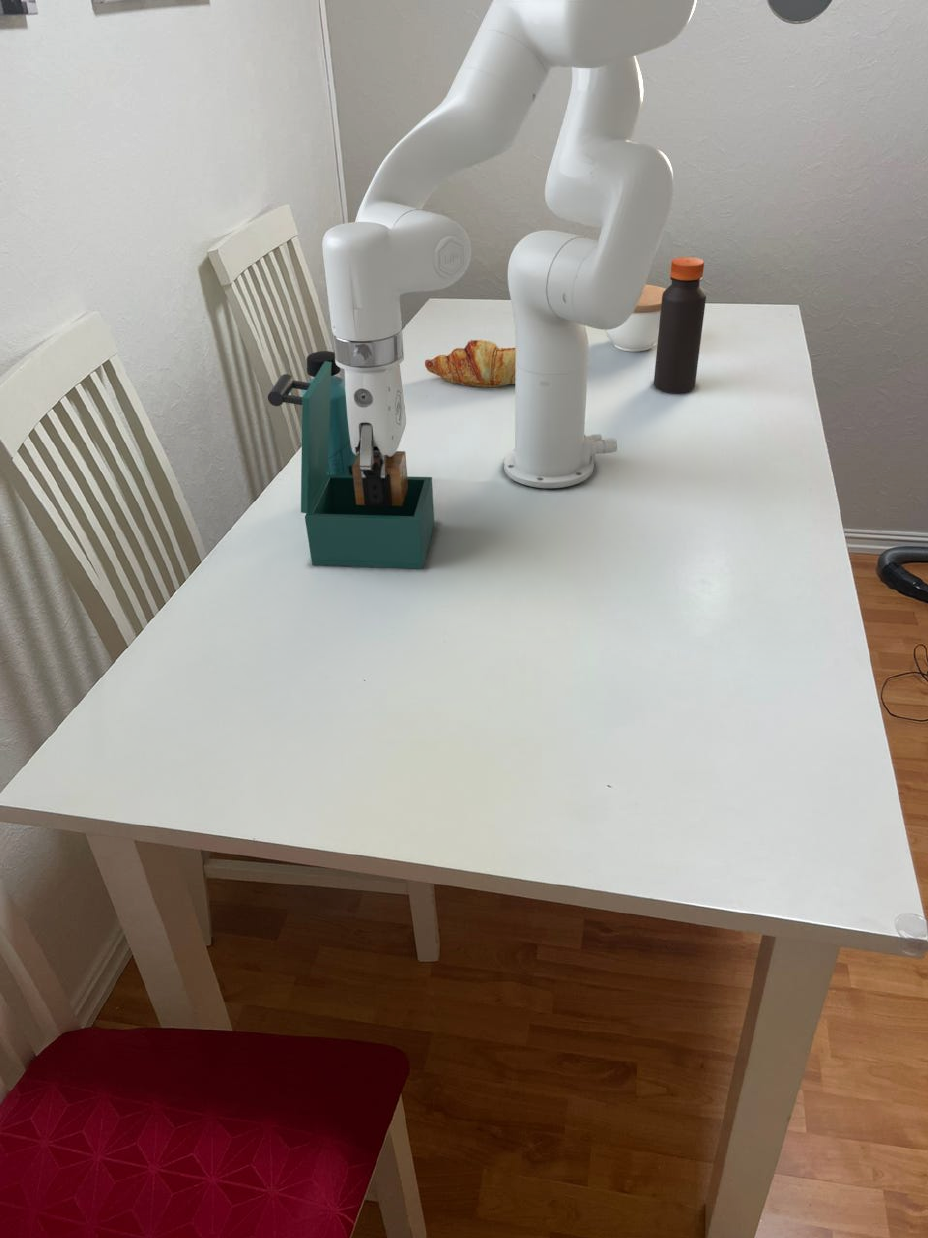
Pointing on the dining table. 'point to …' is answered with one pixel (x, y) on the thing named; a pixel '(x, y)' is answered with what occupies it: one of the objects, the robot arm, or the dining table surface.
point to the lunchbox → (369, 526)
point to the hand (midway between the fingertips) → (382, 493)
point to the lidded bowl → (640, 323)
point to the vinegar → (680, 327)
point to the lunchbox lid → (310, 427)
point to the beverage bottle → (335, 416)
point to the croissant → (476, 365)
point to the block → (394, 469)
